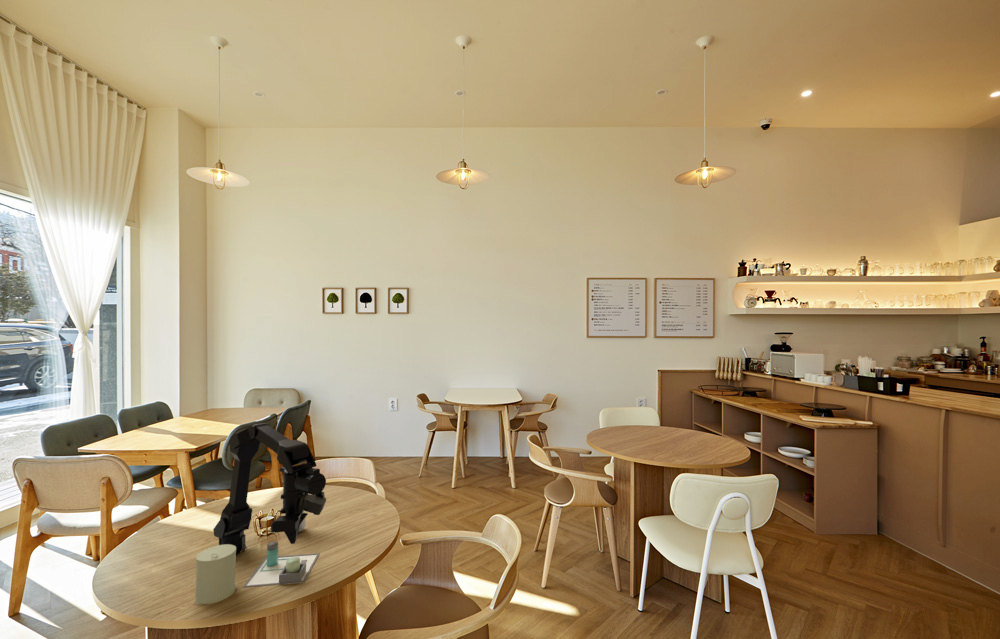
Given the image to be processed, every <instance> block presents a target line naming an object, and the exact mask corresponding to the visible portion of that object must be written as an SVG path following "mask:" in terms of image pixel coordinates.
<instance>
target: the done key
mask: <svg viewBox="0 0 1000 639" xmlns="http://www.w3.org/2000/svg"><path fill="white" fill-rule="evenodd" d="M299 571H300V558H299V557H293V558H290V559H288V560H287V561H286V574H288V573H297V572H299Z"/></svg>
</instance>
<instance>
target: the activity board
mask: <svg viewBox="0 0 1000 639" xmlns="http://www.w3.org/2000/svg"><path fill="white" fill-rule="evenodd" d="M319 555H320V553H307V554H306V553H305V554H292V555H278V564H277V565H276V566H273V567H267V556H266V557H265V558H264V559H263V560H262V561H261V563H260V564H259V565H258V567H257V568H256V569H255V571H254V572H253V573H252V574H251V576H250V577H249V578H248V580H247V581H246V582H245V583H244V585H243V586H242V588H251V587H263V586H264V587H265V586H276V585H277V586H278V585H288V584H289V585H290V584H302V583H303V584H304V583H305V582H306V580H307V579H308V576H309V574H310V572H311V570H312V569H313V567H314V565H315V563H316V561H317V560H318V559H319V558H318V557H319ZM293 557H299V558H300V571H299V572H297V573H288V574H286V561H287V560H288V559H290V558H293Z"/></svg>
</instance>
